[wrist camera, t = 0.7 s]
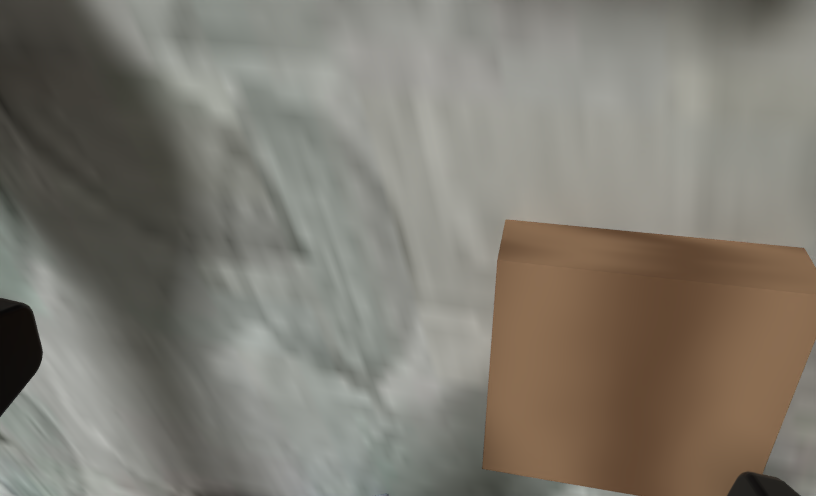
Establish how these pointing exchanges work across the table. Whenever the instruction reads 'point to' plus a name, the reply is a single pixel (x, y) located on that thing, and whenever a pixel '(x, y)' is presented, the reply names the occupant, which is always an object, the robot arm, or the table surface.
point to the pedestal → (643, 357)
